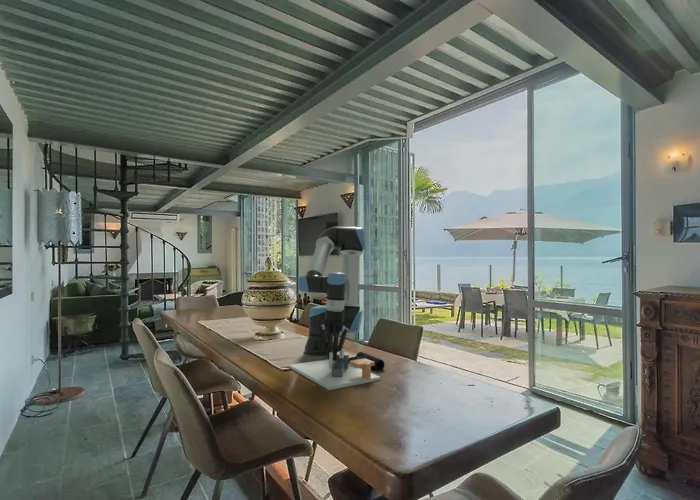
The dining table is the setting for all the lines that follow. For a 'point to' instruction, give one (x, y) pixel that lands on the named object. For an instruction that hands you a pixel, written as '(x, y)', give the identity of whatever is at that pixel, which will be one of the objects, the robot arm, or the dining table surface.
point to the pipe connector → (378, 362)
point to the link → (340, 366)
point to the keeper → (363, 366)
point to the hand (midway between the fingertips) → (331, 368)
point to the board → (323, 374)
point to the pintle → (341, 354)
